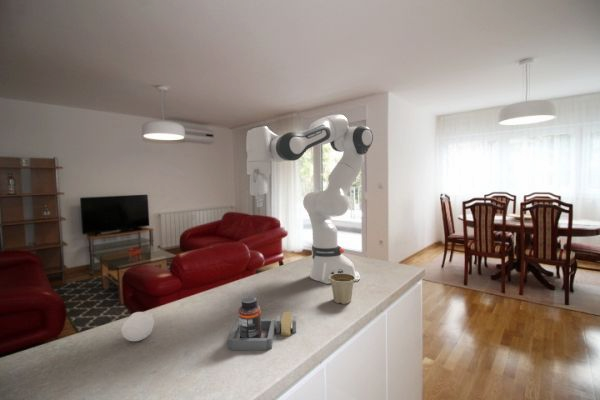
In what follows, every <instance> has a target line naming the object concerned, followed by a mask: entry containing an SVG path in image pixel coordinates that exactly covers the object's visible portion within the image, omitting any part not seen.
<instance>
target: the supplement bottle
mask: <svg viewBox="0 0 600 400" xmlns="http://www.w3.org/2000/svg"><path fill="white" fill-rule="evenodd" d="M257 303H258V302H257V298H256V297H254V296H246V297H243V298H242V299H241V306H240V307H239V309H238V320H239V331H240V333H239V338H262V329H261V319H262V313H261V312H262V311H261V307H260V305H259V304H257Z"/></svg>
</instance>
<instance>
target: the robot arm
mask: <svg viewBox="0 0 600 400" xmlns="http://www.w3.org/2000/svg"><path fill="white" fill-rule="evenodd" d="M348 121H349V120H348V119H347V118H346V116H344V115H343V114H339V113H338V114H331V115H327V116H324V117H321V118H318V119H317V120H314V122H312V123H310V125H309V127H308V130H305V131H303V132H296V131H289V132H286V133H284V134H281V135H278V134H276V133H274V132H273V131H272V130H270V128H269V127H268V126H266V125H257V126H253V127H251V128H249V129H248V130H247V133H246V138H245V139H246V141H245V142H246V143H245V145H246V147H245V150H246V153H247V155H246V156H247V157H246V158H247V159H246V175H250V176H249V194H250V196H255V201H256V207H257V208H261V207H263V204H264V202H263V201H264V195H265V194H268V192H269V176H270V175H271V172H272V171H271V169H272V168H271V167H272V166H271V162H274V163H281V162H290V161H298V160H299V159H301V158H302V157H303V156H304V154H305V153H306V152H307V151H308V150H310V149H311V148H314V147H315V146H323V145H326V144H327V145H328V144H330V146H331V148H332V149H333V150H334V151H336V152H339V153H341V152H343V154H342V156H341V158H340V160H338V162H337V163H336V164H335V166H334V168H332V170H331V172H330V173H329V175H328V178H327V181H328V185H327V186H326V189H324V190H313V191H311V192H308V193H306V194H305V196H304V197H303V202H302V203H303V204H302V205H303V207H304V209H305V210H306V212H307V214H308V216H309V220H310V224H311V231H312V245H311V257H312V264H311V271H310V274H309V278H310V279H312V280H314V281H317V282H321V283H323V284H325V285H326V284H327V285H328V284H331V282H330V279H329V276H330V275H332V274H336V273H346V274H351V275H353V276H355V280H354V282H359V281H360V280H361V275H360V273H359V272H358V271H357V270H356V269H355V265H354V263H353V262H352V260H351V259H349V258H348V256H345V255H344V253H345V250H344V248H343V247H341V246H340V245H338V228H337V226H336V225H335V224H334V221H333V219H332V218H333V217H335V218H336V217H339V216H343V215H345V214H346V213H347V211H348V210H349V198H348V197H347V196H348V194H349V190H350V188H351V186H352V185H353V184H354V182H355V180H356V179H357V178H358V176H359V174H360V173H361V170H362V168H363V166H364V163H365V158H364V157H365V156H364V155H365V154H367V152H368V151H369V149H370V148H371V146H372V143H373V140H374V135H373V131H372V130H371V128H369V127H368V126H364V125H359V126H351V127H350V126H349V122H348ZM359 279H360V280H359ZM358 280H359V281H358Z"/></svg>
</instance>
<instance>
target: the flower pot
mask: <svg viewBox="0 0 600 400" xmlns="http://www.w3.org/2000/svg"><path fill="white" fill-rule="evenodd" d="M329 279H330V282H331V283H330V284H331V290H332V295H333V301H334V302H335V303H337V304H343V305H345V304H349V303H351V302H352V295H353V287H354V284H355V281H354V280H355V276H353V275H351V274H346V273H336V274H332V275H330V276H329Z"/></svg>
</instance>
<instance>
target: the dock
mask: <svg viewBox="0 0 600 400" xmlns="http://www.w3.org/2000/svg"><path fill="white" fill-rule="evenodd" d="M281 318H282V317H281V315H277V316H276V319H272V318H261V330H268V333H267V337H261V338H240V337H239V336H240V331H239V319H238V320H236V322H235V324H234V326H233V327H232V330H231V332H230V334H229V336H228V338H227V349H228V350H232V351H267V350H268V349H269V350H270V349H273V345H274V339H275V333H276V334H280V333H281V324H282V319H281ZM291 330H292V333H294V334H296V333H297V315H292V323H291Z"/></svg>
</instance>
